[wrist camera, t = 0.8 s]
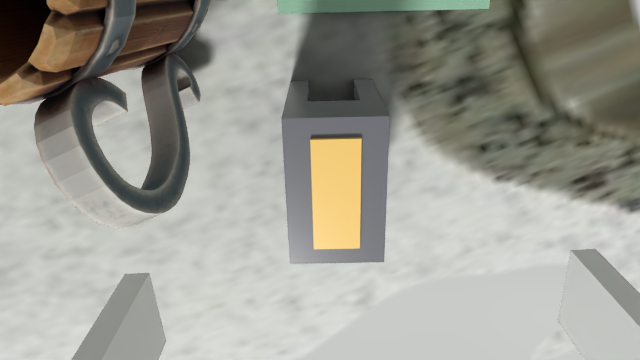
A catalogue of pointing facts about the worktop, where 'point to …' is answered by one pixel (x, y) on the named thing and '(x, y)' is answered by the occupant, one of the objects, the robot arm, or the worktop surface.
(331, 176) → the grey slotted block
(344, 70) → the worktop surface
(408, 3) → the board
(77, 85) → the mug
